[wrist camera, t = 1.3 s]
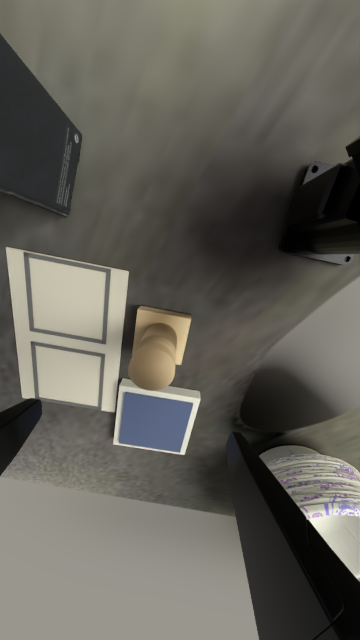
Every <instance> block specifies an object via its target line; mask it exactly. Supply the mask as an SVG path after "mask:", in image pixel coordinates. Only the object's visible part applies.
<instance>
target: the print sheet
mask: <svg viewBox="0 0 360 640" xmlns="http://www.w3.org/2000/svg"><path fill="white" fill-rule="evenodd" d="M6 254H7V263H8V272H9V281H10V290H11V300H12V309H13V318H14V327H15V336H16V345H17V355H18V364H19V373H20V382H21V391H22V398H27V399H29V398H37V399H40V400H41V401H45V402H52V403H58V404H64V405H71V406H77V407H83V408H89V409H96V410H102V411H109V412H115V407H116V397H117V387H118V377H119V368H120V358H121V348H122V338H123V328H124V318H125V308H126V298H127V288H128V278H129V271H125V270H120V269H115V268H110V267H105V266H100V265H95V264H90V263H85V262H80V261H75V260H70V259H65V258H60V257H55V256H50V255H45V254H40V253H35V252H30V251H25V250H20V249H15V248H10V247H6Z"/></svg>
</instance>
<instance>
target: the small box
mask: <svg viewBox="0 0 360 640" xmlns="http://www.w3.org/2000/svg"><path fill="white" fill-rule="evenodd" d="M81 141H82V134H81V133H80V131H79V130H78V129H77V128H76V127H75V125H74V124H73V123H72V122H71V120H70V119H69V118H68V117H67V116H66V114H65V113H64V112H63V111H62V110H61V108H60V107H59V106H58V105H57V103H56V102H55V101H54V100H53V99H52V97H51V96H50V95H49V93H48V92H47V91H46V90H45V88H44V87H43V86H42V85H41V84H40V82H39V81H38V80H37V79H36V77H35V76H34V75H33V74H32V72H31V71H30V70H29V69H28V67H27V66H26V65H25V64H24V63H23V61H22V60H21V59H20V58H19V56H18V55H17V54H16V53H15V51H14V50H13V49H12V48H11V46H10V45H9V44H8V43H7V41H6V40H5V39H4V38H3V36H2V35H1V34H0V192H2V193H6V194H10V195H12V196H15V197H16V198H19V199H22V200H25V201H27V202H28V203H31V204H35V205H37V206H40V207H43V208H45V209H48V210H50V211H52V212H55V213H58V214H60V215H63V216H65V217H67V216H68V215H69V211H70V206H71V205H70V203H71V199H72V191H73V186H74V180H75V175H76V170H77V164H78V162H79V156H80V148H81Z"/></svg>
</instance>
